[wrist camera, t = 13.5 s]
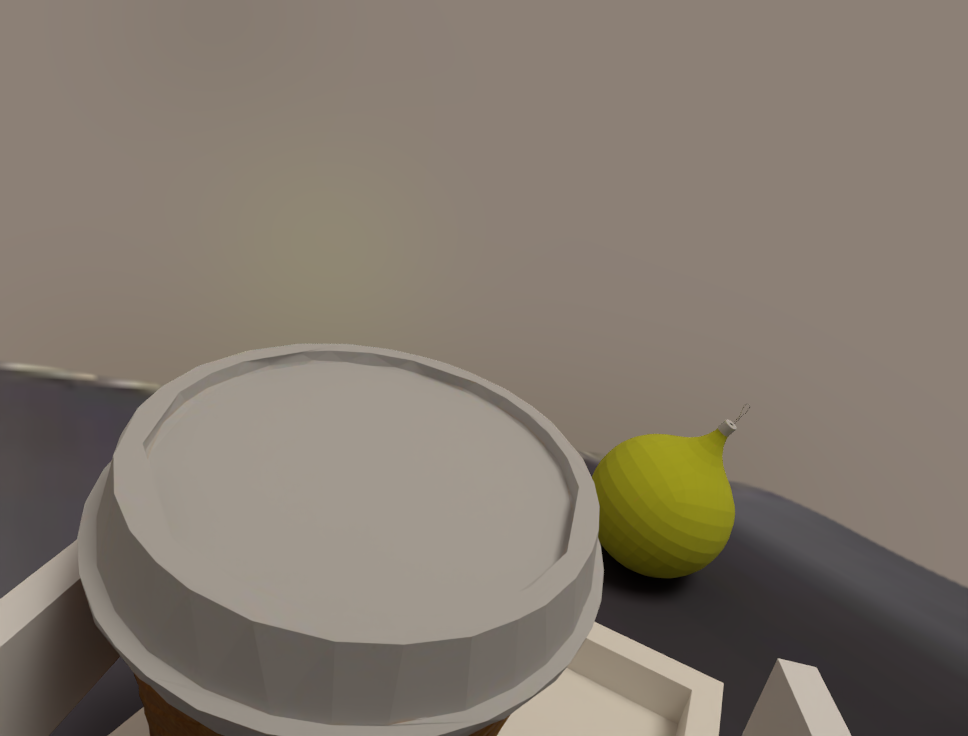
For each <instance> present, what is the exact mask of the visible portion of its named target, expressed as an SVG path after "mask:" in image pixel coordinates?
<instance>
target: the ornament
mask: <svg viewBox="0 0 968 736" xmlns="http://www.w3.org/2000/svg"><path fill="white" fill-rule="evenodd" d="M735 430H736V426H735V425H734V423H733V422H731V421H730V420H727V419H726V420H725V421H724V422H723V423H722V424H721V425H720V426H719V427H718V429H716V430H715V431H713V432H711V433H709V434H707V435H704V436H701V437H691V438H688V437H680V436H674V435H666V434H648V435H642V436H637V437H634V438H631V439H629V440H626V441H624V442H622V443H620V444H619V445H617V446H616V447H615V448H613V449H612V450H611V451H610V452H609V453H608V454H607V455H606V456H605V457H604V458H603V459H602V460H601V461H600V463H599V464H598V466H597V467H596V469H595V472H594V474H593V476H592V479H593V481H594V484H595V488H596V493H597V497H598V501H599V506H600V508H599V532H598V539H599V541H600V543H601V544H602V546H603V547H604V548H605V550H606V551H607V552H608V553H609V554H610V555H611V556H612V557H613V558H614V559H615V560H616V561H618V562H619V563H621V564H622V565H623V566H625V567H626V568H628V569H630V570H632V571H634V572H637V573H640V574H642V575H645V576H649V577H655V578H676V577H682V576H686V575H689V574H692V573H694V572H696V571H698V570H701V569H703V568H704V567H705V566H706V565H708V564H709V563H710V562H711V561H713V560H714V559H715V558H716V557H717V556H718V554H719V553H720V552H721V551H722V550H723V548H724V546H725V545H726V543H727V541H728V539H729V536H730V533H731V530H732V527H733V524H734V518H735V506H734V502H733V497H732V492H731V487H730V485H729V482H728V479H727V477H726V473H725V470H724V467H723V460H722V453H723V447H724V444H725V442H726V439H727V437H728V436H729V435H730V434H731V433H732V432H734V431H735Z"/></svg>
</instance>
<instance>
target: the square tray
mask: <svg viewBox="0 0 968 736" xmlns="http://www.w3.org/2000/svg"><path fill="white" fill-rule="evenodd" d="M723 685H724V683H722V682H720V681H718V680H715V679H713V678H711V677H709V676H707V675H705V674H703V673H701V672H699V671H697V670H694V669H692V668H690V667H688V666H686V665H684V664H682V663H680V662H678V661H676V660H673V659H671V658H669V657H667V656H665V655H663V654H661V653H659V652H657V651H655V650H652V649H650V648H648V647H646V646H644V645H642V644H640V643H638V642H636V641H634V640H631V639H629V638H627V637H625V636H623V635H621V634H619V633H617V632H615V631H613V630H610V629H608V628H606V627H604V626H602V625H600V624H598V623H596V622H594V624H593V627H592V629H591V631H590V632H589V634H588V636H587V638H586V639H585V641H584V643H583V644H582V646H581V647H580V649H579V650H578V652H577V653H576V655H575V656H574V658H573V659H572V661H571V662H570V664H569V665H568V666H567V668H566V669H565V670H564V671H563V672H562V674H561V675H560V676H559V677H558V679H557V680H556V681H555V682H554V683H552V684H551V685H550V686H548V687H547V688H545V689H544V690H543V691H541V692H540V693H539V694H537V695H536V696H535V697H533V698H532V699H531V700H529V701H528V702H526V703H525V704H524V705H522V706H521V707H520V708H518V709H517V710H516V711H514V712H513V713H512V714H511V715H510V716H509V718H508V719H507V721H506V722H505V724H504V725H503V727H502V728H501V730H500V732H499V733H498V735H497V736H719V726H720V716H721V705H722V695H723ZM108 736H150V734H149V725H148V722H147V719H146V716H145V714H144V707H143V708H142V709H140V710H139V711H138V712H137V713H135V714H134V715H133V716H132V717H130V718H129V719H128V720H127V721H125V722H124V723H123V724H122V725H120V726H119V727H118V728H117V729H115V730H114V731H113V732H112V733H110V734H109V735H108Z"/></svg>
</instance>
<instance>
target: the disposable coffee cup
mask: <svg viewBox="0 0 968 736" xmlns="http://www.w3.org/2000/svg"><path fill="white" fill-rule="evenodd" d="M599 508H600V506H599V501H598V497H597V493H596V488H595V484H594V481H593V479H592V477H591V475H590V473H589V471H588V469H587V467H586V465H585V463H584V460H583V458H582V457H581V456H580V455H579V454H578V452H577V451H576V450H575V449H574V448H573V446H572V445H571V444H570V443H569V442H568V441H567V440H566V438H565V437H564V436H563V435H562V434H561V432H560V431H559V430H558V429H557V428H556V426H555V425H554V424H553V423H552V422H551V421H550V420H549V419H547V418H546V417H545V416H544V415H542V414H541V413H540V412H539V411H537V410H536V409H535V408H534V407H532V406H531V405H529V404H527V403H526V402H525V401H523V400H522V399H520V398H519V397H517V396H516V395H514V394H512V393H511V392H509V391H508V390H506V389H504V388H502V387H500V386H498V385H496V384H494V383H492V382H489V381H487V380H485V379H483V378H481V377H479V376H477V375H475V374H473V373H470V372H467V371H465V370H462V369H460V368H457V367H455V366H452V365H449V364H447V363H444V362H440V361H436V360H433V359H429V358H426V357H422V356H418V355H413V354H409V353H404V352H400V351H396V350H391V349H384V348H376V347H367V346H360V345H352V344H294V345H287V346H279V347H272V348H265V349H257V350H249V351H246V352H242V353H239V354H235V355H233V356H229V357H226V358H223V359H219V360H216V361H213V362H210V363H207V364H203V365H201V366H198V367H196V368H194V369H192V370H190V371H189V372H187V373H185V374H183V375H182V376H180V377H178V378H176V379H174V380H173V381H171V382H169V383H167V384H165V385H164V386H162V387H161V388H160V389H159V390H158V391H156V392H155V393H154V394H153V395H152V396H151V397H150V398H149V399H147V400H146V401H145V402H144V403H143V404H142V405H141V406H140V407H138V409H137V410H136V412H135V413H134V415H133V416H132V418H131V420H130V421H129V423H128V424H127V426H126V428H125V429H124V431H123V432H122V434H121V436H120V439H119V441H118V444H117V447H116V450H115V452H114V455H113V459H112V461H111V462H110V463H109V464H108V465H107V466H106V467H105V468H104V470H103V471H102V473H101V475H100V477H99V479H98V481H97V482H96V484H95V486H94V488H93V490H92V491H91V493H90V495H89V497H88V499H87V500H86V502H85V505H84V510H83V515H82V519H81V524H80V528H79V533H78V537H77V545H78V561H79V575H80V579H81V582H82V585H83V588H84V591H85V595H86V598H87V601H88V604H89V607H90V610H91V613H92V616H93V619H94V623H95V625H96V626H97V627H98V629H99V630H100V631H101V632H102V634H103V635H104V636H105V637H106V639H107V640H108V641H109V642H110V643H111V645H112V646H113V647H114V648H115V650H116V651H117V652H118V653H119V655H120V656H121V657H122V658H123V660H124V661H125V662H126V663H127V665H128V666H129V667H130V668H131V670H132V671H133V672H134V676H135V678H136V681H137V683H138V685H139V696H140V698H141V700H142V703H143V705H144V714H145V716H146V719H147V722H148V725H149V734H150V736H497V735H498V733H499V732H500V730H501V728H502V727H503V725H504V724H505V722H506V721H507V719H508V718H509V716H510V715H511V714H512V713H513V712H514V711H516V710H517V709H518V708H520V707H521V706H522V705H524V704H525V703H526V702H528V701H529V700H531V699H532V698H533V697H535V696H536V695H537V694H539V693H540V692H541V691H543V690H544V689H545V688H547V687H548V686H550V685H551V684H552V683H554V682H555V681H556V680H557V679H558V677H559V676H560V675H561V674H562V672H563V671H564V670H565V669H566V668H567V666H568V665H569V664H570V662H571V661H572V659H573V658H574V656H575V655H576V653H577V652H578V650H579V649H580V647H581V646H582V644H583V643H584V641H585V639H586V638H587V636H588V634H589V632H590V631H591V629H592V627H593V624H594V621H595V618H596V615H597V612H598V609H599V606H600V602H601V597H602V586H603V575H604V567H603V560H602V552H601V545H600V542H599V539H598V532H599Z"/></svg>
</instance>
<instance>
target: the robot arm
mask: <svg viewBox="0 0 968 736" xmlns="http://www.w3.org/2000/svg"><path fill="white" fill-rule="evenodd" d="M119 657H120V655H119V653H118V652H117V651H116V650H115V648H114V647H113V646H112V645H111V643H110V642H109V641H108V640H107V639H106V637H105V636H104V635H103V634H102V632H101V631H100V630H99V629H98V627H97V626H96V625H95V623H94V619H93V616H92V613H91V610H90V607H89V604H88V601H87V598H86V595H85V591H84V588H83V585H82V582H81V579H80V575H79V561H78V545H77V540H76V541H75V542H73V543H72V544H71V545H70V546H68V547H67V548H66V549H64V550H63V551H62V552H60V553H59V554H58V555H57V556H55V557H54V558H53V559H51V560H50V561H49V562H48V563H46V564H45V565H44V566H42V567H41V568H40V569H39V570H37V571H36V572H35V573H33V574H32V575H31V576H30V577H28V578H27V579H26V580H24V581H23V582H22V583H21V584H19V585H18V586H17V587H15V588H14V589H13V590H12V591H10V592H9V593H8V594H6V595H5V596H4V597H3V598H1V599H0V736H49V735H50V734H51V733H52V732H53V731H54V729H55V728H56V727H57V726H58V725H59V724H60V723H61V722H62V720H63V719H64V718H65V717H66V716H67V715H68V714H69V713H70V712H71V710H72V709H73V708H74V707H75V706H76V705H77V704H78V703H79V701H80V700H81V699H82V698H83V697H84V696H85V695H86V694H87V693H88V691H89V690H90V689H91V688H92V687H93V686H94V685H95V684H96V682H97V681H98V680H99V679H100V678H101V677H102V676H103V675H104V674H105V672H106V671H107V670H108V669H109V668H110V667H111V666H112V665H113V663H114V662H115V661H116V660H117V659H118V658H119ZM742 736H851V734H850V732H849V730H848V728H847V726H846V724H845V722H844V720H843V718H842V717H841V715H840V713H839V711H838V709H837V707H836V705H835V703H834V701H833V699H832V697H831V695H830V693H829V691H828V689H827V687H826V685H825V683H824V681H823V679H822V677H821V675H820V673H819V671H818V669H817V668H816V667H812V666H808V665H804V664H800V663H795V662H791V661H787V660H783V659H777V661H776V664H775V666H774V668H773V670H772V672H771V674H770V676H769V679H768V681H767V683H766V685H765V687H764V689H763V691H762V693H761V696H760V698H759V700H758V702H757V704H756V706H755V708H754V711H753V713H752V715H751V717H750V719H749V721H748V723H747V726H746V728H745V730H744V732H743V734H742Z"/></svg>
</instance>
